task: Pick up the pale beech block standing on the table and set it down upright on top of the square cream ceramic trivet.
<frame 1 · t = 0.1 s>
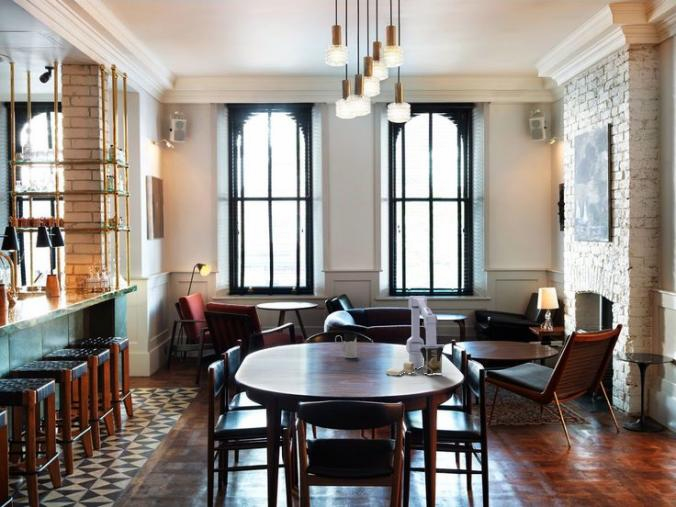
hand: (432, 361, 370), 11 cm above the table, tool pointing down, fingers open, 7 cm apart
block: (408, 373, 388), on the table
trivet: (395, 374, 385), on the table
glass holder: (346, 356, 435), on the table
coffee box: (432, 375, 384), on the table
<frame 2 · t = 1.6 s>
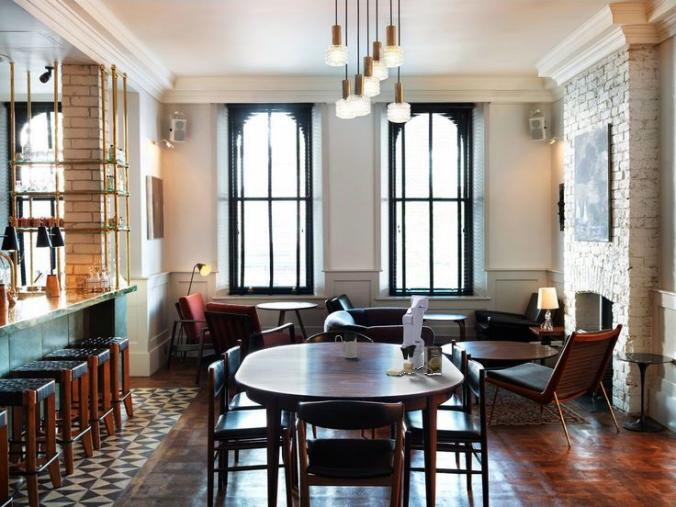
hand: (408, 358, 387), 9 cm above the table, tool pointing down, fingers open, 7 cm apart
nothing on the table moved.
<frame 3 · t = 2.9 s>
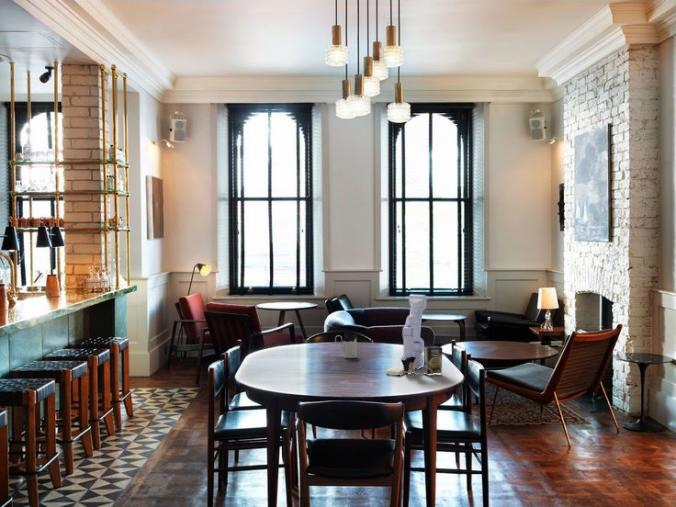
hand: (408, 370, 387), 2 cm above the table, tool pointing down, fingers open, 5 cm apart
block: (408, 373, 387), on the table, touching gripper, trivet
everything else where it was.
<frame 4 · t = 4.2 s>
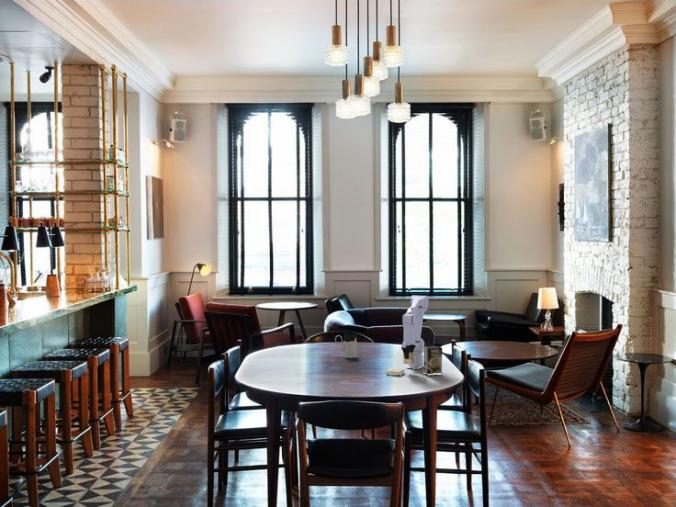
hand: (408, 358, 387), 9 cm above the table, tool pointing down, fingers closed on block, 4 cm apart
block: (408, 363, 387), point 6 cm above the table, touching gripper
everything else where it was.
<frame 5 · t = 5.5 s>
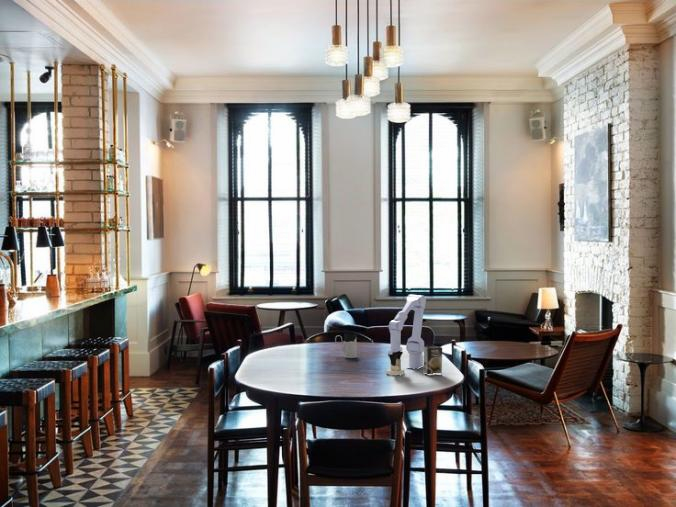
hand: (395, 364, 385), 5 cm above the table, tool pointing down, fingers closed on block, 4 cm apart
block: (395, 369, 385), point 3 cm above the table, touching gripper, trivet
everything else where it was.
when the fingers open (5 cm above the table, at t = 6.2 s): block stays where it is, resting on trivet.
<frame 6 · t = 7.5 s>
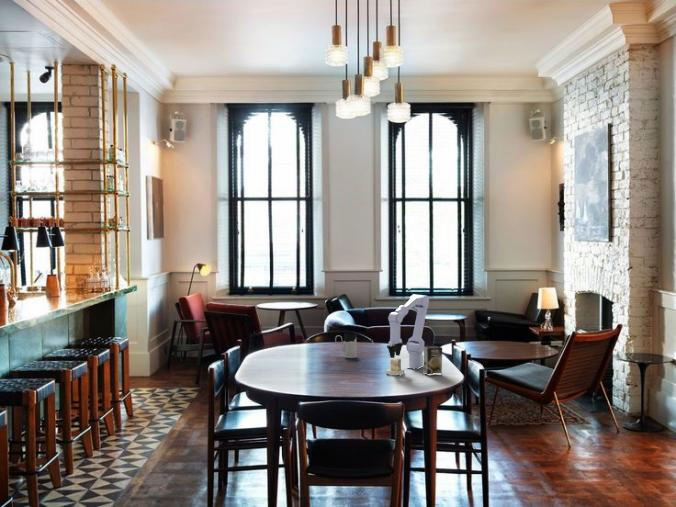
hand: (395, 356, 386), 10 cm above the table, tool pointing down, fingers open, 7 cm apart
block: (395, 369, 385), point 3 cm above the table, touching trivet
everything else where it was.
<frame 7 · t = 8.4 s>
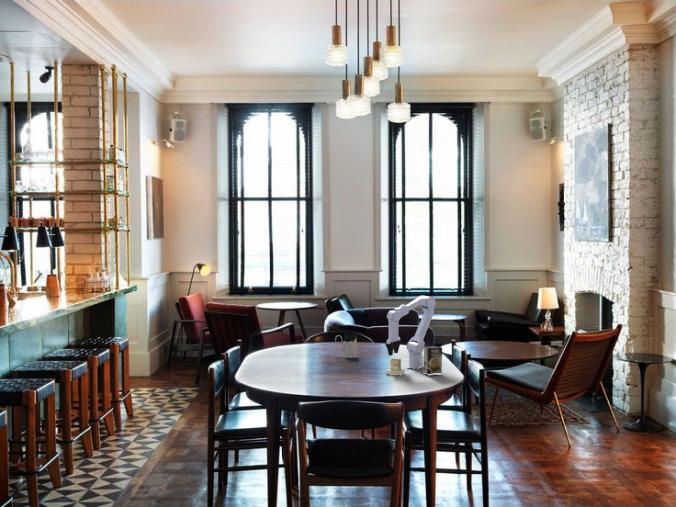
hand: (393, 354, 393), 10 cm above the table, tool pointing down, fingers open, 7 cm apart
nothing on the table moved.
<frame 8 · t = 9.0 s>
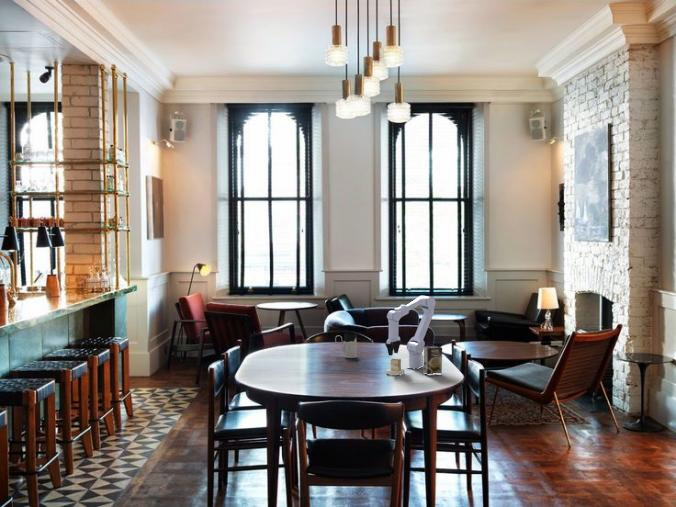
hand: (393, 354, 393), 10 cm above the table, tool pointing down, fingers open, 7 cm apart
nothing on the table moved.
at the end: block 0.3 cm off-centre on the trivet, point 2.5 cm above the trivet's base; block tilted 0°; the gripper is holding nothing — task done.
